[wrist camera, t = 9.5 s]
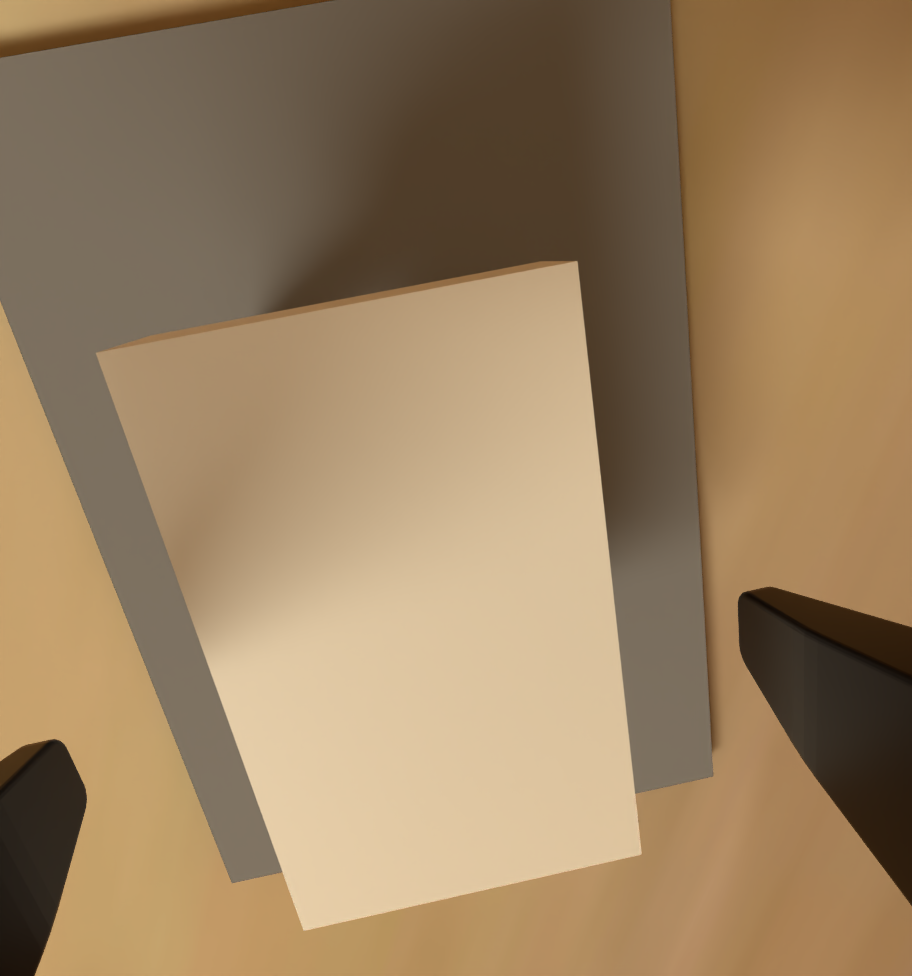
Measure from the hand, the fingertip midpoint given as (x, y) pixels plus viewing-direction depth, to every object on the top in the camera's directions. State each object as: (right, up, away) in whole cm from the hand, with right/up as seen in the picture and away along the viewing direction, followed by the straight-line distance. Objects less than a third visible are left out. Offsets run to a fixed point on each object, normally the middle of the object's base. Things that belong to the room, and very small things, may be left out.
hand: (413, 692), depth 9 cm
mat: (-1, +2, +7) cm, 8 cm away
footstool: (-1, +2, +7) cm, 7 cm away
